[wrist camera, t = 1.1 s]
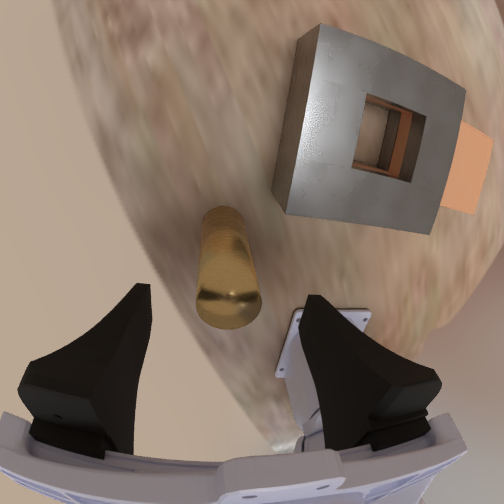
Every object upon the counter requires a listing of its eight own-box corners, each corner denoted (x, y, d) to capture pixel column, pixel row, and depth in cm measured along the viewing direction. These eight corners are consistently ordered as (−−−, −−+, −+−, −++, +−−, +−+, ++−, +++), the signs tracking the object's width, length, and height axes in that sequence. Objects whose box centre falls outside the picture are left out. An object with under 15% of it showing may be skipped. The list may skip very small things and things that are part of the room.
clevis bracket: (398, 211, 22) (429, 235, 18) (271, 190, 20) (285, 214, 16) (427, 86, 17) (466, 89, 13) (298, 39, 15) (320, 23, 11)
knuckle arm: (453, 202, 22) (473, 215, 20) (302, 167, 20) (315, 177, 17) (471, 133, 19) (493, 140, 16) (320, 71, 16) (337, 67, 14)
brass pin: (241, 246, 22) (256, 330, 14) (200, 243, 21) (194, 327, 14) (246, 208, 21) (267, 280, 13) (204, 204, 20) (197, 275, 12)
